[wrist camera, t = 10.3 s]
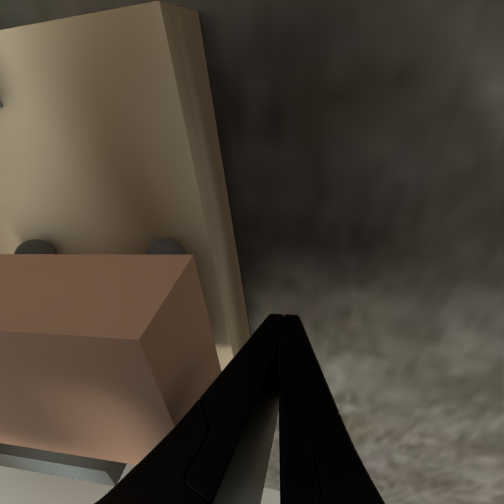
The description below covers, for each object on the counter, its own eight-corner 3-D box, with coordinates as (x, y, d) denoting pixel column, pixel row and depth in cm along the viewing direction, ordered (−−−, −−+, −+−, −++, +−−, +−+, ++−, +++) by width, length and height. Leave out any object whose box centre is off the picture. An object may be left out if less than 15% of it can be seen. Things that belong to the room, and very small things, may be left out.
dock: (198, 11, 9) (61, -29, 4) (258, 387, 17) (234, 512, 12) (-197, 80, 12) (-506, 98, 8) (11, 363, 20) (-79, 454, 16)
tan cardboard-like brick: (206, 230, 9) (137, 335, 6) (232, 352, 12) (194, 475, 9) (12, 232, 11) (-134, 318, 7) (72, 341, 14) (-15, 442, 10)
